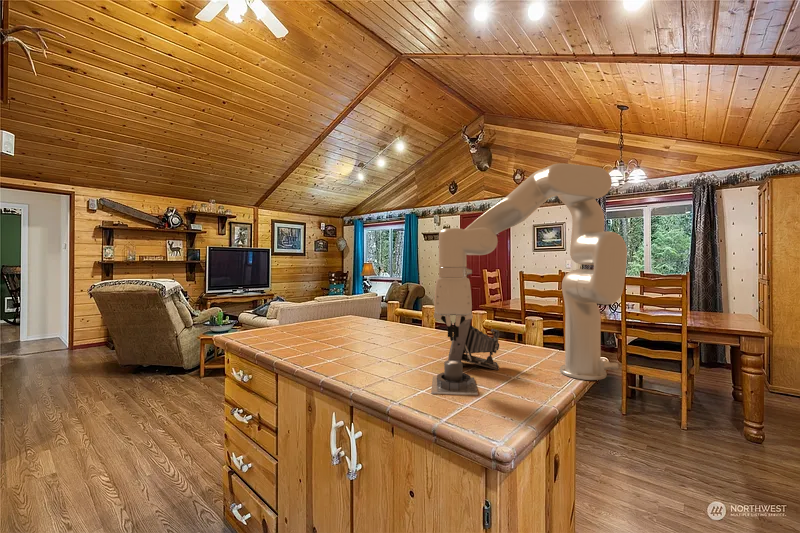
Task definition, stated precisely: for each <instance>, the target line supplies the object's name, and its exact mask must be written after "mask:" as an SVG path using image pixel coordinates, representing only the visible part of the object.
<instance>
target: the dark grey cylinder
mask: <svg viewBox="0 0 800 533" xmlns="http://www.w3.org/2000/svg"><path fill="white" fill-rule="evenodd" d="M463 363H464V362H463V361H462V360H461V361H457V360H448V359H447V360H446V361H444V363H443V364H444V365H443V366H444V368H443V369H444V370H443V372H444V379H445V380H448V381H463V373H464V372H463V369H464V368H463Z"/></svg>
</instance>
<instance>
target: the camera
mask: <svg viewBox="0 0 800 533" xmlns="http://www.w3.org/2000/svg"><path fill="white" fill-rule="evenodd" d="M461 316H462V315H461ZM471 322H472V319H468V320H464V321H463V322H462V323H461V324H460V325H459V337H456V341H454V340H452V341H451V345H450V348H449V353H448V359H447V361H448V360H457V361H461V362H466V363H469V364H472V365H477V366H480V367H484V368H488V369H491V370H494V371H499V370H500V367H499V365H498V364H499V363H498V362H496V361H494V359H493V357H492V356H493V355H494V354H497V352H498V351H499V348H500V343H499V340H500V335H501V334H500V331H499V330H498V329H496V328H495V329H493V328H491V329H490V331H491V334H493V338H492V337H491V336H489V334H486V333H484V332H483V331H480V330H479V329H478V328H476V327H475V326H473V325H471ZM477 353H478V354H480V353H489V356H487V357H486V359H485V358H482V357H478V356H475V355H472V354H477Z"/></svg>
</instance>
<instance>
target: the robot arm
mask: <svg viewBox="0 0 800 533" xmlns="http://www.w3.org/2000/svg"><path fill="white" fill-rule="evenodd" d="M612 181H613V180H612V177H611V175H610V174H609V172H608V171H607V170H606V169H604V168H602V167H600V166H594V165H583V164H577V163H576V164H575V163H574V164H573V163H553V164H551V165H549V166H545V167H544V168H541V169H538V170H536V171H535V172H533V173H532V174H530V175H529V176H528V177H527V178H526V179H524V181H522V183H520V184H518V185H517V187H515V188H514V189H513V190H512V191H511V192H510V193H509V194H508V195H506V196H505V197H504V198H503V199H501V200H500V201H499V202H498V203H496V204H495V205H493V206H492V207H491V208H489V209H488V210H487V211H486V212H484V213H483V214H482V215H480V216H478V218H476V219H475V220H474V221H473V222H471V223H470V224H469V225H467V227H466V228H464V229H463V228H456V227H455V228H452V227H451V228H449V227H448V228H443V229H441V230H439V233H438V278H436V279H435V286H434V301H433V302H434V304H433V305H434V307H433V308H434V312H433V318H434V319H437V320H441V321H442V322H443V323H444V324H445V325H446V326H447V338H450V341H451V342H452V340H454V341H456V337H459V325H460V324H461V323H462V322H463V321H464V320H468V319H471V320H472V319H473V312H472V309H473V305H472V304H473V302H472V300H473V299H472V290H471V289H472V288H471V282H470V278H468V275H472V274H473V269H470V268H468V267H467V265H468V264H467V261H468V260H467V256H484V255H488V254H491V253H492V252H493V251H495V249H497V246H498V236H497V235H498V234H500V233H501V232H504V231H505V230H508V229H510V228H512V227H515V226H517V225H519V224H521V223H523V222H524V221H526V220H527V219H528V218H529V217H530V216H531V215H532V214H533V213H534V212H536V211H537V210H538V209H539V208H540V207H541V206H542V205H544V203H546V202H547V201H548V200H549V199H551V198H553V197H556V196H557V197H558V199H559V201H560V202H562V203H563V205H565V207H566V208H567V209H568V211H569V212H570V214H571V223H572V225H571V235H570V248H569V255H570V258H571V260H572V261H573V262H574V263H576V264H579V265H584V266H585V265H586V266H593V269H584V268H581V269H580V268H579V269H574V270H571V271H569V272H567V273H566V274H565V275H564V277H563V279H562V282H561V291H562V296H563V301H564V311H565V312H564V316H565V318H564V319H565V320H564V321H565V323H564V324H565V326H564V328H565V330H564V331H565V332H564V333H565V334H564V335H565V336H564V338H565V340H564V341H565V342H564V343H565V345H564V353H565V355H564V357H565V359H564V360H565V361H564V362H565V363H564V364H562V365H560V367H559V372H560V373H561V374H563V375H564V376H566V377H570V378H574V379H578V380H584V381H600V380H604V379H605V378H607V371H608V370H619V366H620V365H619V363H617V362H610V361H608V360H607V361H606V360H602V359H601V352H602V351H601V350H602V349H601V348H602V347H601V334H602V333H601V328H602V327H601V326H602V324H601V323H602V320H601V311H600V308H599V305H605V306H606V305H612V304H615V303H616V302H618V301H619V300H620V298H621V297H622V294H623V293H624V288H625V280H626V272H627V270H626V267H627V257H628V249H627V248H628V247H627V244H626V242H625V240H624V238H623V237H622V236H621V235H620V234H619V233H617V232H614V231H609V230H608V231H607V230H606V231H605V214H604V210H603V209H602V206H601V205H600V204H599V203H598V201H597V199H600V198H603V197H604V196H606V195H607V194H608V193H609V191H610V190H611V187H612V184H613V183H612ZM598 304H599V305H598ZM461 315H462V316H461ZM451 316H455V320H454V322H453V323H452V321H451Z"/></svg>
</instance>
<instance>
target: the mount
mask: <svg viewBox="0 0 800 533" xmlns="http://www.w3.org/2000/svg"><path fill="white" fill-rule="evenodd" d="M431 379H432V380H431V389H430V390H431V395H455V396H456V395H457V396H460V395H461V396H479V393H478V392H479V391H478V388H477V385H476V384H477V383H476V380H475V377H471V375H469V374H467V373H465V372H463V381H448V380H445V379H444V371H443V372H440V373H438V374H437V375H436V376H432V378H431Z"/></svg>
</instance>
